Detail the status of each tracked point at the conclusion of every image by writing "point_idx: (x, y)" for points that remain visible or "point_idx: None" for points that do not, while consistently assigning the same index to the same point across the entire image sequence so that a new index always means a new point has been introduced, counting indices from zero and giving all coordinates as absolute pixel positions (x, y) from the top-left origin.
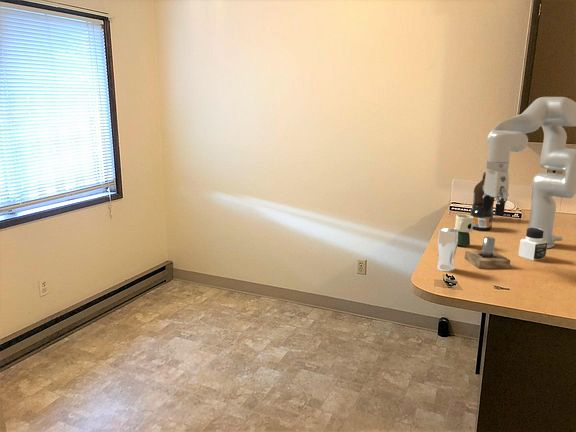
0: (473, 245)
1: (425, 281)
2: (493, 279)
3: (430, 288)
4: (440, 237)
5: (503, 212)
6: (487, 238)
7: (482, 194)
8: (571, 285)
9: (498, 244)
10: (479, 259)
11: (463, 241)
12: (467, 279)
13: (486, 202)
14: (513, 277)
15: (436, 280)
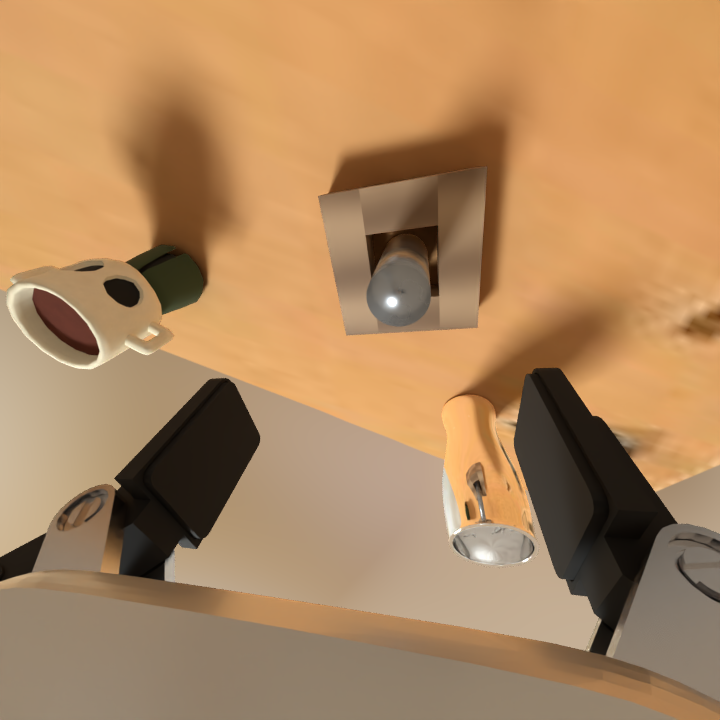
0: (157, 222)
1: None
2: (611, 306)
3: None
4: (494, 536)
5: (568, 387)
6: (406, 311)
7: None
8: None
9: (68, 59)
10: (459, 321)
11: (189, 287)
12: (580, 389)
13: (217, 479)
14: (619, 204)
15: None
